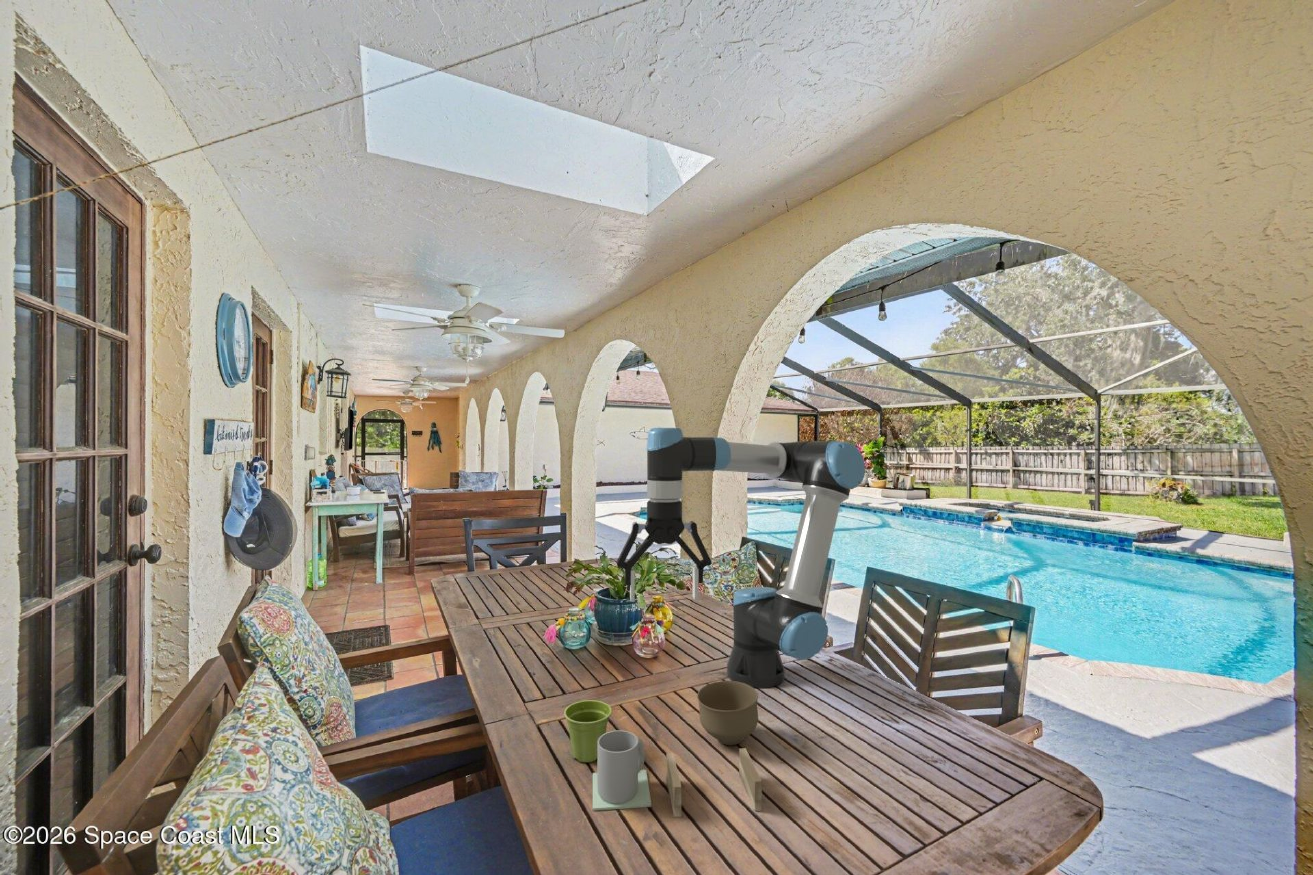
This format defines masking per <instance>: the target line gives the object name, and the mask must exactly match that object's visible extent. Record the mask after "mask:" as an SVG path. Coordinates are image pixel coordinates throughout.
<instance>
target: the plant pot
mask: <svg viewBox="0 0 1313 875" xmlns="http://www.w3.org/2000/svg"><path fill="white" fill-rule="evenodd" d="M612 711H613V710H612V707H611V705H610V704H608V703H606V702H604V701H601V700H596V699H595V700H594V699H592V700H590V699H589V700H588V699H587V700H580V701H576V702H573V703H571V704H569V705H568V706H567V707H565V709H564V712H563V715H564V718H565V720H566V723H567V726H568V732H569V740H570V748H571V755H572V758H573V759H576V760H577V761H578V762H580V763H592V762H595V761H596V760H597V758H598V739H599V737H600V736H601V735H603V734H605V733H607V728H608V722H609V719H610V717H611V715H612Z"/></svg>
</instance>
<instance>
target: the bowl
mask: <svg viewBox="0 0 1313 875" xmlns="http://www.w3.org/2000/svg"><path fill="white" fill-rule="evenodd" d="M696 697H697V698H696V699H697V702H698V708H699V722H700V725H701V727H702V728H703V729H704V731H705V732H706V733H707V734H708V735H709V736H711V737H712V738H714V739H716V740H718V742H719V743H721V744H723V745H727V746H734V745H738V744H740V743H741V742H742V741H743V740H744V739H746V738H748V737H749V736H750V735H751V734H752V733H753V732H754V731H755V729H756V727H757V725H758V723H759V713H758V712H759V711H758V699H759V694H758V691H757V690H756V689H755V687H751V686H749V685H747V684H745V683H741V682H736V681H732V680H722V681H721V680H719V681H714V682H711V683H708V684H706V685H705V686H703V687H702V688H700V689H699V690H698V692H697V696H696Z"/></svg>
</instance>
